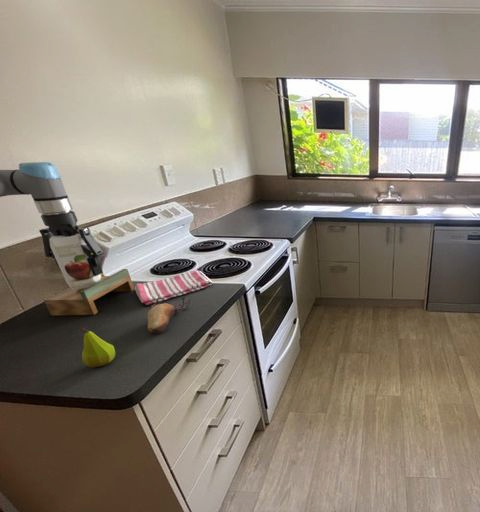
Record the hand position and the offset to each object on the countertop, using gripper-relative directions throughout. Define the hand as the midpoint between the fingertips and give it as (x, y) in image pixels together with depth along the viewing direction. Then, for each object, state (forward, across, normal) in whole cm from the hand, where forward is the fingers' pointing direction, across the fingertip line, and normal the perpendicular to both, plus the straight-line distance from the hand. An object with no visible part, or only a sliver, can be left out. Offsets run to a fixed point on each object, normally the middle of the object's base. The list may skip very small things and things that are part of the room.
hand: (83, 274), depth 101 cm
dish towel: (+11, -24, -9) cm, 27 cm away
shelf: (+11, 0, 0) cm, 11 cm away
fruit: (+11, -30, +33) cm, 46 cm away
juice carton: (+4, 0, 0) cm, 4 cm away
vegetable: (+11, -36, +15) cm, 41 cm away
